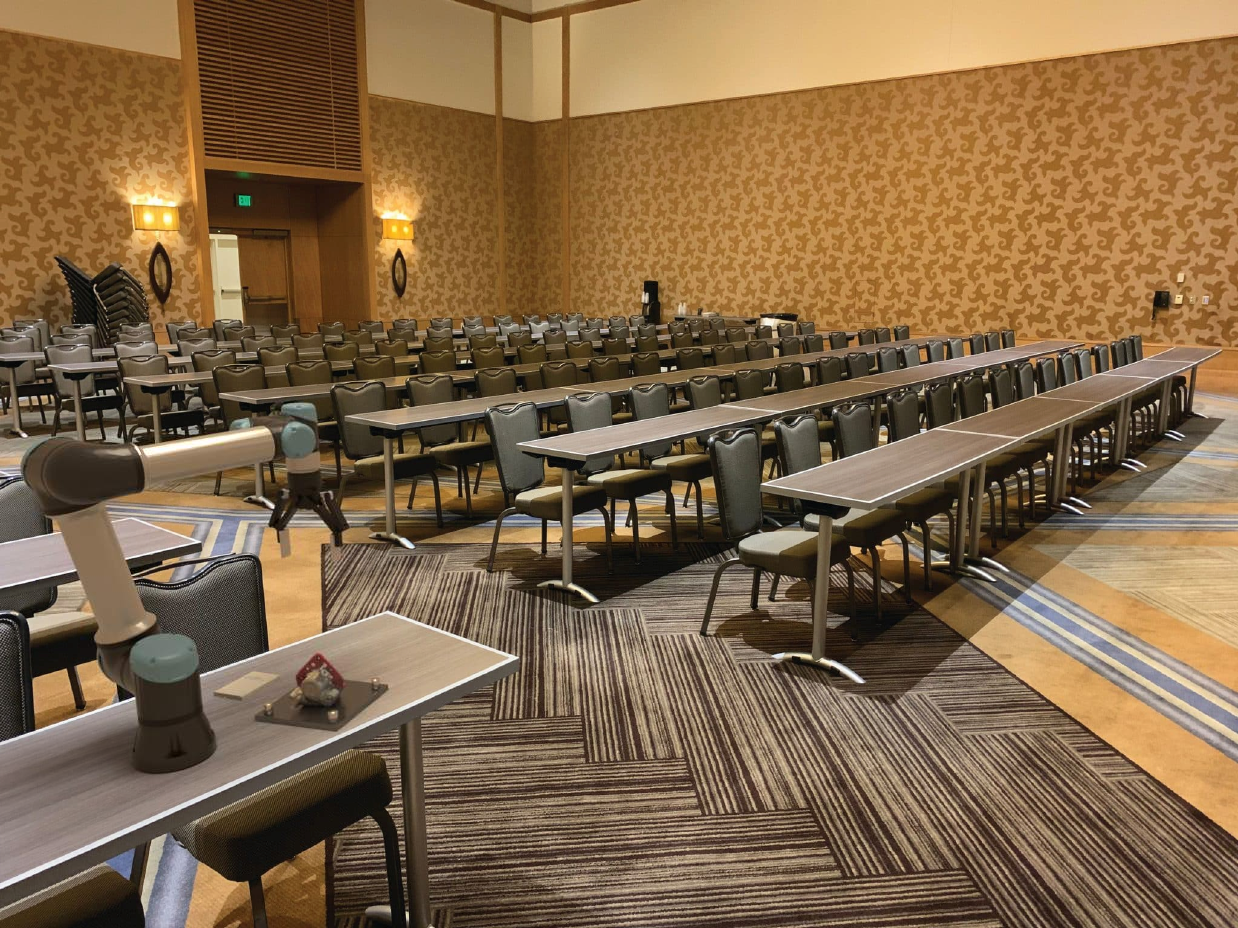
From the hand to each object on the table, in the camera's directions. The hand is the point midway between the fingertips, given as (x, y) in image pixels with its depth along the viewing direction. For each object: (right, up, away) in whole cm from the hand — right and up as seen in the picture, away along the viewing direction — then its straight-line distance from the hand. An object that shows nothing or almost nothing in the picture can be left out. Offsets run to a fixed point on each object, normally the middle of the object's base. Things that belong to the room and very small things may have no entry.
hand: (311, 558), depth 214 cm
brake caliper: (+6, -30, -13) cm, 34 cm away
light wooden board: (-14, -31, -2) cm, 34 cm away
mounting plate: (+7, -31, -12) cm, 34 cm away
